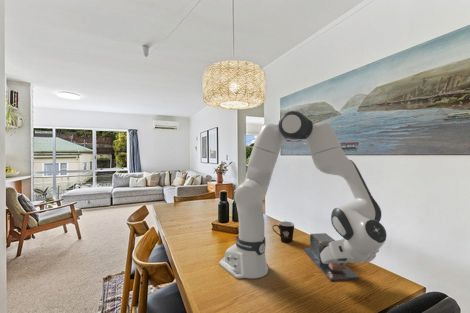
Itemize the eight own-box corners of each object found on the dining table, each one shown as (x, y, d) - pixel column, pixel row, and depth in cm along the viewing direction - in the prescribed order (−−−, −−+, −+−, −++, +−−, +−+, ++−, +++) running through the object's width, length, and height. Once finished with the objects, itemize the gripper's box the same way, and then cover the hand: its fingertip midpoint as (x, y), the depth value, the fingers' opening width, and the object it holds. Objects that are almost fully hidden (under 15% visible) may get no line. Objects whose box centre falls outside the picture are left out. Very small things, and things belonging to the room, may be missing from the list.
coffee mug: (297, 240, 130) (297, 223, 130) (289, 245, 124) (289, 227, 124) (279, 235, 138) (279, 219, 138) (271, 239, 132) (271, 222, 132)
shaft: (346, 269, 95) (346, 248, 95) (332, 270, 95) (332, 248, 94) (326, 251, 112) (326, 233, 112) (314, 251, 112) (314, 233, 111)
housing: (359, 279, 91) (359, 254, 91) (330, 280, 90) (330, 255, 90) (325, 249, 119) (325, 230, 119) (303, 250, 118) (303, 231, 118)
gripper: (377, 240, 87) (360, 254, 97) (325, 241, 86) (314, 255, 95) (385, 257, 83) (367, 269, 93) (331, 259, 81) (318, 271, 91)
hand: (339, 262), depth 94 cm, fingers closed, pressing on shaft
